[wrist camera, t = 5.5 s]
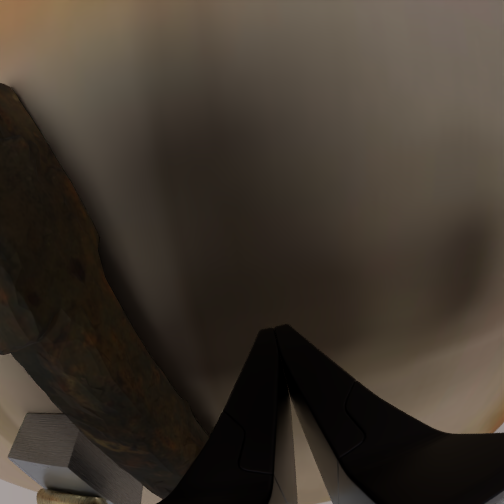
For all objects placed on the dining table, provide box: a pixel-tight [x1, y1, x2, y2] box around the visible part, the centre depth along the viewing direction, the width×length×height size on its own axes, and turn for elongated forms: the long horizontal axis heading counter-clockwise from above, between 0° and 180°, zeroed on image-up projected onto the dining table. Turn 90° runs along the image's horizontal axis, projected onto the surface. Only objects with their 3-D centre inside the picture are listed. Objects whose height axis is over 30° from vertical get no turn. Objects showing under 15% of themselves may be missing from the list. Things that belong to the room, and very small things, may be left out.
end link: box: [8, 413, 143, 504], centre depth 10 cm, size 4×6×4 cm, turn 13°
